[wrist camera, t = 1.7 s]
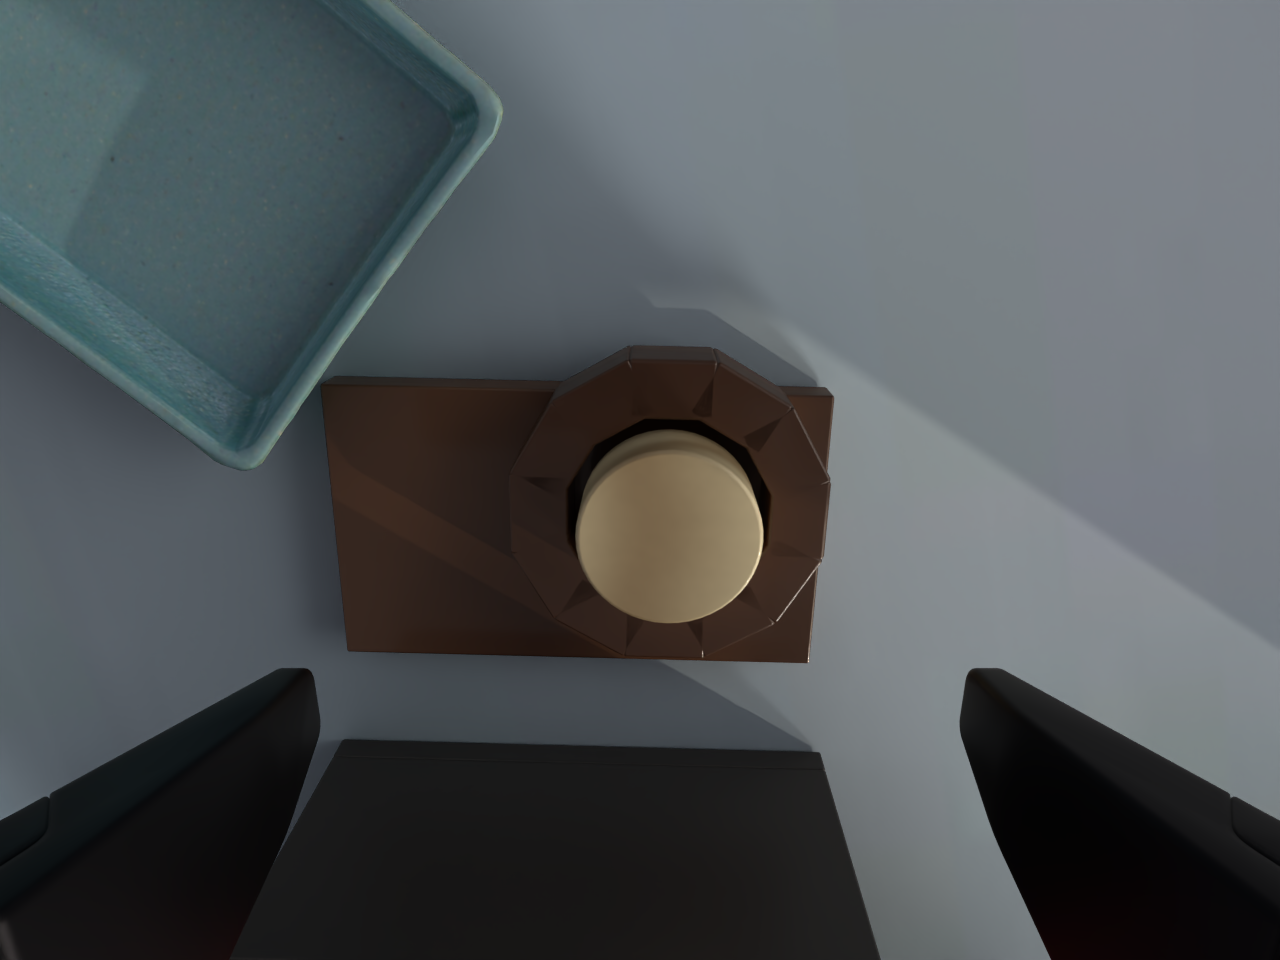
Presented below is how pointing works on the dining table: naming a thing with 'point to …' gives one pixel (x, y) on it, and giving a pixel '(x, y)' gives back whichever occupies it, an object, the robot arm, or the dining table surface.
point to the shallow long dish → (221, 190)
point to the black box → (562, 858)
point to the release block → (560, 506)
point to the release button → (669, 527)
